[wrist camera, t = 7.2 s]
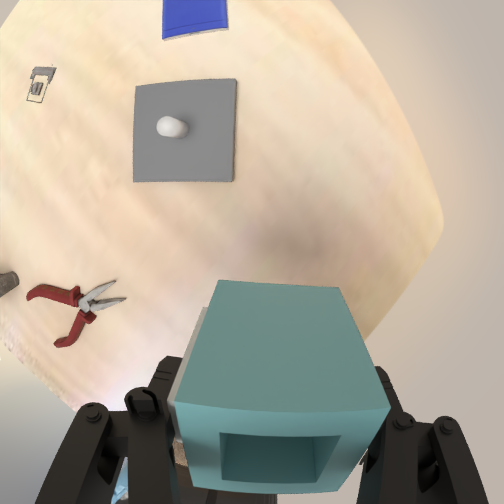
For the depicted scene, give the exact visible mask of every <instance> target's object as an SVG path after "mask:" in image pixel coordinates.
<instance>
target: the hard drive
mask: <svg viewBox="0 0 504 504" xmlns="http://www.w3.org/2000/svg"><path fill="white" fill-rule="evenodd" d="M223 30H229V29H228V12H227V0H163V16H162V39H163V40H164V41H167V40H171V39H176V38H180V37H185V36H191V35H196V34H202V33H209V32H216V31H223Z"/></svg>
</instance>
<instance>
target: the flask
mask: <svg viewBox="0 0 504 504" xmlns="http://www.w3.org/2000/svg"><path fill="white" fill-rule="evenodd" d="M17 285H19V278H18V276H17V274H16V273H15V272H13V271H12V272H9V273H6V274H0V297H2V296H3V295H4V294H6V293H7V292H9V291H10V290H12V289H13V288H15V287H16V286H17Z"/></svg>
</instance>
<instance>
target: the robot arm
mask: <svg viewBox="0 0 504 504" xmlns="http://www.w3.org/2000/svg"><path fill="white" fill-rule="evenodd" d="M207 309H208V308H207V307H203V309H202V311H201V314H200V316H199V319H198V321H197V324H196V326H195V329H194V331H193V334H192V336H191V339H190V341H189V344H188V347H187V349H186V352H185V354H184V357H183V358H179V357H172V356H166V357H165V358H164V359H163V360H162V361H160V362H159V364H158V367H157V369H156V372H155V373H154V375H153V378H152V379H151V381H150V384H149V386H148V387H138V388H134V389H132V390H130V391H129V392H128V393H127V394H126V396H125V398H124V401H125V404H126V407H127V410H128V411H108V409H107V408H106V407H105V406H104V405H102V404H100V403H95V402H92V403H87V404H85V405H83V406H82V407H81V408H80V409H79V410H78V412H77V414H76V416H75V418H74V420H73V422H72V424H71V426H70V428H69V430H68V432H67V434H66V436H65V438H64V440H63V442H62V444H61V446H60V448H59V450H58V452H57V454H56V456H55V459H54V461H53V463H52V465H51V467H50V469H49V472H48V474H47V476H46V478H45V481H44V483H43V485H42V487H41V490H40V492H39V495H38V497H37V499H36V502H35V504H277V494H264V493H245V492H233V491H224V490H215V489H208V488H201V487H195V486H193V482H192V479H191V475H190V471H189V467H186V466H183V465H180V464H177V463H175V456H174V449H173V445H172V444H173V440H174V437H175V438H176V442H180V443H183V442H182V438H181V433H180V429H179V424H178V419H177V414H176V409H175V404H174V400H175V397H176V394H177V391H178V388H179V386H180V383H181V380H182V377H183V374H184V372H185V369H186V366H187V363H188V361H189V358H190V355H191V352H192V350H193V347H194V344H195V342H196V339H197V336H198V333H199V331H200V328H201V325H202V323H203V320H204V317H205V315H206V312H207ZM374 367H375V369H376V372H377V374H378V376H379V379H380V381H381V384H382V386H383V389H384V391H385V394H386V396H387V399H388V401H389V404H390V406H391V409H390V410H389V412H388V414H387V416H386V418H385V420H384V421H383V423H382V425H381V427H380V428H379V430H378V432H377V433H376V435H375V437H374V438H373V440H372V442H371V443H370V445H369V446H368V450H367V452H366V453H365V455H364V456H363V458H362V459H361V461H360V463H359V465H362V463H363V462H364V464H363V471H362V477H361V482H360V488H359V494H358V498H357V503H356V504H489V503H488V500H487V497H486V493H485V491H484V487H483V484H482V481H481V479H480V476H479V473H478V470H477V467H476V465H475V462H474V459H473V457H472V454H471V452H470V449H469V447H468V444H467V443H466V440H465V437H464V435H463V433H462V430H461V428H460V426H459V424H458V423H457V421H456V420H455V419H453V418H452V417H449V416H441V417H438V418H437V419H436V420H435V422H434V423H433V424H431V423H422V422H416V421H415V419H414V418H413V416H411V415H410V414H408V413H406V412H403V409H402V407H401V404H400V403H399V400H398V397H397V395H396V393H395V391H394V389H393V386H392V384H391V383H390V379H389V377H388V375H387V373H386V372H385V371H384V370H383V369H382V368H381V367H380V366H374ZM125 457H128V461H127V462H126V464H125V465H124V467H123V469H122V470H121V468H122V464H123V461H124V458H125ZM120 471H121V472H120Z"/></svg>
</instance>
